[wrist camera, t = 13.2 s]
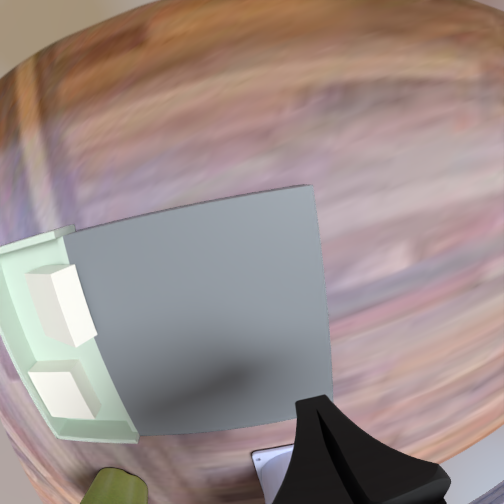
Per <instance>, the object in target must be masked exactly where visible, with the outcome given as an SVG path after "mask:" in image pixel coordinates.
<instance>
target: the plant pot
mask: <svg viewBox="0 0 504 504" xmlns="http://www.w3.org/2000/svg"><path fill="white" fill-rule="evenodd" d="M147 501H148V488H147V486H146V484H145V483H144V482H143V481H142V480H141V479H140V478H138V477H137V476H133V475H129V474H127V473H126V472H124V471H123V470H120V469H116V468H104V469H102V470H100V471H99V473H98V474H97V476H96V477H95V479H94V481H93V483H92V484H91V486H90V488H89V489H88V491H87V493H86V494H85V496H84V498H83V499H82V501H81V503H80V504H147Z"/></svg>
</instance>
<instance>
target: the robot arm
mask: <svg viewBox="0 0 504 504" xmlns="http://www.w3.org/2000/svg"><path fill="white" fill-rule="evenodd" d="M295 408H296V415H297V426H296V436H295V442H294V445H290V446H285V447H279V448H274V449H268V450H262V451H256V452H253V453H252V458H253V461H254V465H255V468H256V471H257V474H258V477H259V480H260V483H261V487H262V490H263V493H264V497H265V504H447V503H446V501H445V499H444V496H445V494H446V492H447V491H448V489H449V487H450V484H451V479H450V477H449V476H448V475H447V473H446V472H445V471H444V470H443V469H442V467H441V466H440V465H439V464H436V463H432V462H428V461H424V460H420V459H417V458H414V457H411V456H408V455H406V454H404V453H402V452H399V451H397V450H395V449H393V448H390V447H389V446H387V445H385V444H383V443H381V442H380V441H378V440H376V439H375V438H373V437H372V436H370V435H369V434H367V433H366V432H365V431H363V430H362V429H361V428H359V427H358V426H357V425H356V424H354V423H353V422H352V421H351V420H350V419H349V418H348V417H347V416H345V415H344V414H343V413H342V412H341V411H340V410H339V409H338V408H337V407H336V406H335V404H334V403H333V402H332V401H331V400H330V399H329V397H328V396H327V395H325V394H323V395H319V396H315V397H311V398H307V399H302V400H298V401H296V402H295ZM469 504H504V481H502V482H501V483H499V484H498V485H497V486H495V487H494V488H492V489H491V490H489V491H488V492H486V493H485V494H483V495H482V496H480V497H479V498H477V499H475V500H474V501H472V502H471V503H469Z"/></svg>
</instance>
